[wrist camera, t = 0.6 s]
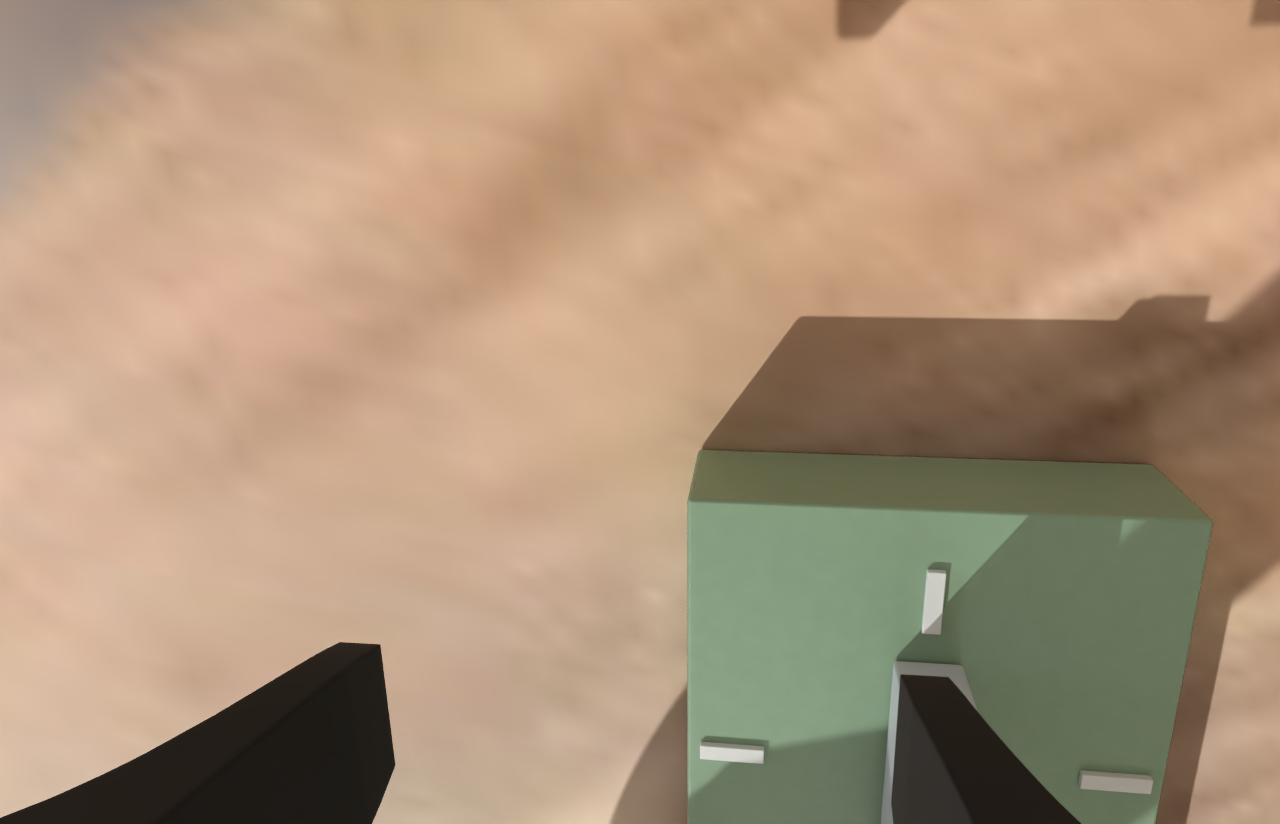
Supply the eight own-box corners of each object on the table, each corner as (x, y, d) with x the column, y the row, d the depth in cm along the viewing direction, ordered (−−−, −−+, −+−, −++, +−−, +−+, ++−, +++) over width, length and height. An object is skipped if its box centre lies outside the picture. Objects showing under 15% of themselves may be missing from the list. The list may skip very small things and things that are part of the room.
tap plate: (1071, 954, 25) (1112, 1070, 22) (696, 916, 26) (686, 1020, 23) (1154, 463, 20) (1219, 524, 17) (698, 448, 22) (686, 502, 19)
